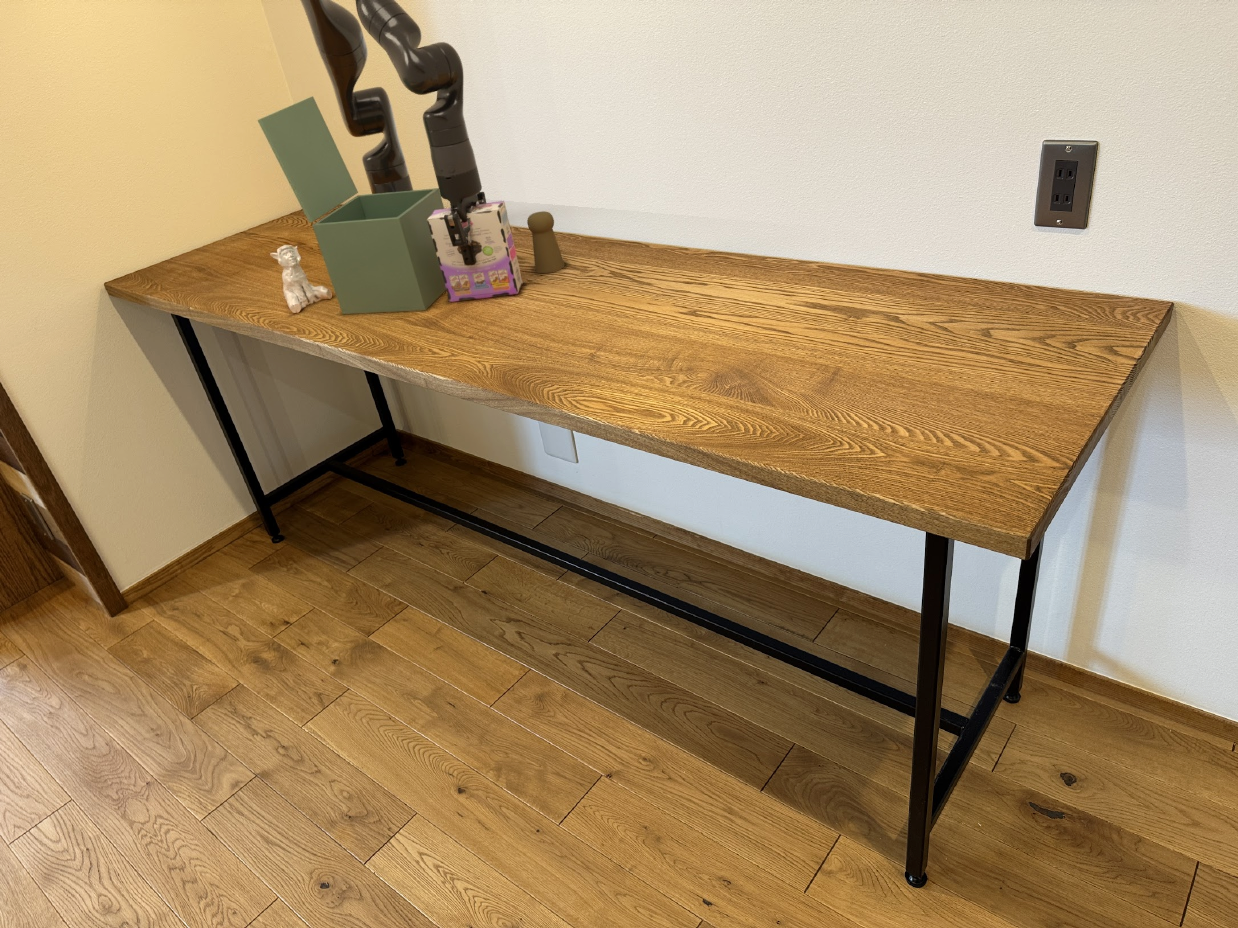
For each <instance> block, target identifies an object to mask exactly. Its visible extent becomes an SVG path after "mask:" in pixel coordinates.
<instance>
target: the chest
mask: <svg viewBox="0 0 1238 928" xmlns="http://www.w3.org/2000/svg"><path fill="white" fill-rule="evenodd" d="M439 209H445V206H444V203H443V198H442V197H441V194H440V190H439V187H437V188H424V189H413V190H412V191H401V192H390V193H378V194H372V193H370V194H369V193H368V194H357V195H355V196H353V197H352V198H350V200H347V202H344V203H343V204H341V206H339V207H337V208H336V209H333V210H332V211H331V212H330V213H327V215H324V217H321V218H320V219H318V220H317V221H316V222H314V223H313V224H312V225H311V226H312V229H313V233H314V235H315V238H316V241H317V244H318V246H319V249H320V253H321V255H322V258H323V261H324V264H325V268H326V270H327V273H328V276H329V278H330V282H331V284H332V287H333V290H334V293H335V297H336V299H337V301H338V305H339V307H340V311H341V314H342V315H354V314H377V313H399V312H419V311H427V309H429V308H430V307H431V306H432V305H433V303H435V302H436V301H437V300H438V299H439V298H440V297H441V296H442V295H443V294H444V293H445V292H447V290H446V286H445V283H444V279H443V275H442V272H441V269H440V265H439V261H438V258H437V255H436V251H435V247H434V243H433V240H432V236H431V233H430V229H429V226H428V223H427V219H428V218H429V217H430V215H431V214H432V213H433V212H434V211H435V210H439Z"/></svg>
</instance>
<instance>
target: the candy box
mask: <svg viewBox="0 0 1238 928" xmlns="http://www.w3.org/2000/svg"><path fill="white" fill-rule="evenodd" d="M450 213H451V207H448V208H444V209H439V210H435V211H434V212H433V213H432V214H431V215H430V217H429V218H428V219H427V223H428V226H429V229H430V233H431V236H432V240H433V243H434V247H435V251H436V255H437V258H438V261H439V265H440V269H441V272H442V275H443V279H444V283H445V286H446V293H447V297H448V302H449V303H453V302H455V303H456V302H461V301H463V302H464V301H471V300H478V299H489V298H496V297H503V296H513V295H518V294H519V292H520V291H521V288H522V287H523V284H524V282H523V277H522V273H521V268H520V264H519V259H518V255H517V251H516V246H515V241H514V238H513V234H512V229H511V224H510V221H509V220H510V219H509V215H508V210H507V207H506V201H505V200H499V201H493V202H492V201H491V202H486V203H484V204H480V205H479V206H477V207H474V210H473V211H472V213H467V214H466V216H467V221H466V222H465V223H463V222H461V224H462V227H463V228H466V227H467V226H468V218H470V219H471V224H472V228H473V232H472V233H471V241H472V245H473V249H474V253H475V257H476V261H477V262H476V264H475V265H465V264H464V260H463V257H462V253H461V249H460V247H459V246H453V245H452V242H451V239H450V236H449V233H448V230H447V227H446V224H445V221H444V215H449V214H450ZM464 234H465V237H466V232H464ZM455 237H456V234H455Z"/></svg>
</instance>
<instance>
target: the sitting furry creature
mask: <svg viewBox="0 0 1238 928" xmlns="http://www.w3.org/2000/svg"><path fill="white" fill-rule="evenodd" d="M269 256H270V257H271V258H272V259H274V260H277V263H278V265H280V267H282V268H283V269H282V273H281V280H282V283H283V285H282V286H283V287H282V289H283V290H282V292H283V293H282V294H283V295H284V296H283V298H284V299H285V301H286V303H287V306H288V309H289V310H290V312H292V313H293V314H296V313H297V314H299V312H301V310H302V309H304V308H306V307H307V306H310V305H311V304H314V303H317V302H320V301H321V300H331V299H332V297H333V291H332V290H331V289H330V288H327V287H325V286H323V285H317V286H314V285H313V284H311V282H309V279H308V278H307V277H308V275H307V274H306V273H305V270H303V267H302V266H301V263H300V262H301V260H302V256H301V254H300V253H299V251H298V245H296V246H293V245H291V244H284V245H282V246H280V247H279V248H277V249H276V252H270V253H269Z"/></svg>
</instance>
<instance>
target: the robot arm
mask: <svg viewBox="0 0 1238 928" xmlns="http://www.w3.org/2000/svg"><path fill="white" fill-rule="evenodd" d="M299 1H300V3H301V5H302V8H303V10H304V11H303V12H304V13H305V16H306V18H307V21H308V24H309V28H310V30H311V34H312V36H313V40H314V42H315V45H316V48H317V50H318V51H317V52H318V53H319V56H320V58H321V60H322V63H323V65H324V68H325V70H326V73H327V75H328V77H329V80H330V82H331V83H330V84H331V86H332V89H333V93H334V96H335V100H336V103H337V106H338V109H339V113H340V116H341V120H342V122H343V124H344V125H343V126H344V128H345V129H346V131H347V132H348V133H349V134H350V136H352V137H354V138H364V137H369V136H375V135H379V134H382V135H383V137H382V139H381V140H380V142H379V143H377V145H376V146H374V147H373V148H371V149H370V150H368V151H367V152H365V153H364V154H363V155H362V157H361V161H362V165H363V168H364V172H365V175H366V178H367V181H368V185H369V189H370V192H371V194H378V193H390V192H401V191H412V190H414V187H413V184H412V180H411V177H410V173H409V170H408V166H407V162H406V158H405V155H404V151H403V148H402V146H401V142H400V138H399V134H398V129H397V124H396V120H395V116H394V112H393V107H392V103H391V99H390V96H389V94H388V92H387V91H386V90H385V89H384V88H383V87H382V86H374V87H369V88H364V89H360V90H355V86H356V84H357V83H358V81H359V79H360V77H361V75H362V73H363V71H364V69H365V66H366V63H367V60H368V54H369V53H368V46H367V42H366V40H365V36H364V33H363V29H362V27H363V28H364V29H365V30H366V32H367V33H368V35H370V36H371V37H372V39H373V40H374V41H375V42H376V43H377V44H378V45H379V46H380V47H381V48H382V50H384V51H385V52H386V55H387V56H388V58H389V60H390V61H391V63H392V66H393V68H394V69H395V71H396V73H397V74H398V77H399V80H400V81H401V83H402V84H403V86H404V87H405V88H406V89H407V91H410V92H411V93H412V94H414V95H418V96H426V95H429V94H433V93H435V92H436V99H435V101H434V103H433V104H432V105H431V106H430V107H428V108H426V109H425V111H424V112H423V113H422V123H423V127H424V131H425V134H426V138H427V143H428V145H429V151H430V158H431V163H432V168H433V170H434V175H435V179H436V182H437V188H439V191H440V194H441V198H442V200H447V201H448V202H449V204H450V208H451V213H450V214H449V215H444V221H445V224H446V227H447V230H448V233H449V236H450V239H451V242H452V245H453V246H459V247H460V249H461V253H462V257H463V260H464V264H465V265H475V264H476V262H477V261H476V257H475V253H474V249H473V245H472V241H471V233H472V232H473V228H472V224H471V219H470V218H468V226H467V227H466V228H463V227H462V224H461V222H463V223H465V222H466V221H467V216H466V214H467V213H472V211H473V210H474V207H477V206H479V205H480V204H484V203H487V198H486V193H485V192H484V191H482V189H483V186H482V182H481V177H480V174H479V168H478V165H477V161H476V156H475V152H474V148H473V145H472V143H471V140H470V137H469V132H468V128H467V124H466V120H465V116H464V85H465V84H464V76H465V75H464V67H463V62H462V59H461V56H460V55H459V53H458V52H457V50H456V49H455V47H453V46H452V45H451V44H450V43H448V42H444V41H438V42H435V43H432V44H428V45H425V46H421V47H420V45H421V41H422V31H421V28H420V26H419V24H418V23H417V22H416V21H415V20H414V18H413V17H411V16H410V14H409V13H408V12H407V11H406V10H404V8H403V7H402V6H401V5H400V3H398V2H397V0H354V1H355V7H356V12H357V16H358V18H359V20H358V18H356V16H355V15H354V14H353V13H352V12H351V11H350V10H348V9H347V8H345V7H344V6H342V5H340V4H338V3H337V2H335V1H334V0H299ZM359 21H360V22H359ZM360 23H361V24H360ZM361 25H362V26H361ZM464 232H466V237H465V234H464ZM455 234H456V237H455Z"/></svg>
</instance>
